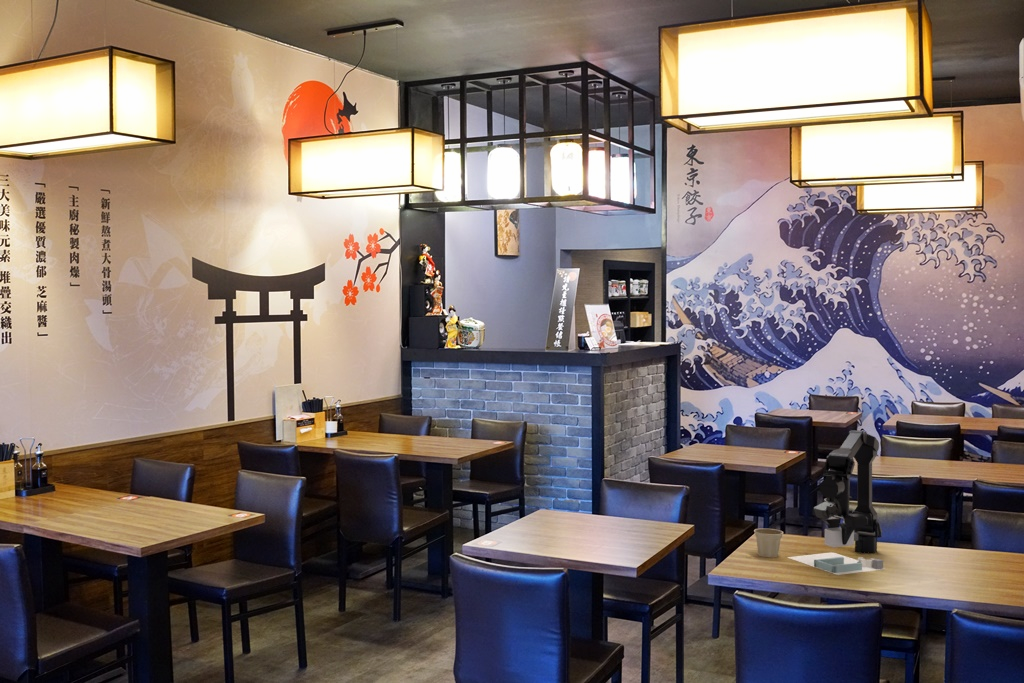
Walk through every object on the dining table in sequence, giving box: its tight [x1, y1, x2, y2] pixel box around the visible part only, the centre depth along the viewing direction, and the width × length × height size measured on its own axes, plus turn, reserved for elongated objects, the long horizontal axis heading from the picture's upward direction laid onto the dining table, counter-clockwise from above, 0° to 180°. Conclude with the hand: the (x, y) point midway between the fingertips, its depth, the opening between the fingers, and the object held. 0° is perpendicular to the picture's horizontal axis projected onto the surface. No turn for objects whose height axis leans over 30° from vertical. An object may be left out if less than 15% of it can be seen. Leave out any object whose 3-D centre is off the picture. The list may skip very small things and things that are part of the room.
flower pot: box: [753, 528, 784, 558], centre depth 308 cm, size 9×9×9 cm
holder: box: [814, 557, 862, 574], centre depth 291 cm, size 9×11×2 cm
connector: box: [824, 527, 858, 548], centre depth 291 cm, size 4×11×5 cm, turn 112°
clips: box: [857, 557, 874, 568], centre depth 294 cm, size 5×5×2 cm
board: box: [786, 551, 885, 576], centre depth 297 cm, size 19×24×1 cm
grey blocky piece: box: [857, 558, 884, 570], centre depth 292 cm, size 5×6×3 cm
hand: (839, 543), depth 291 cm, fingers closed on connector, 4 cm apart
